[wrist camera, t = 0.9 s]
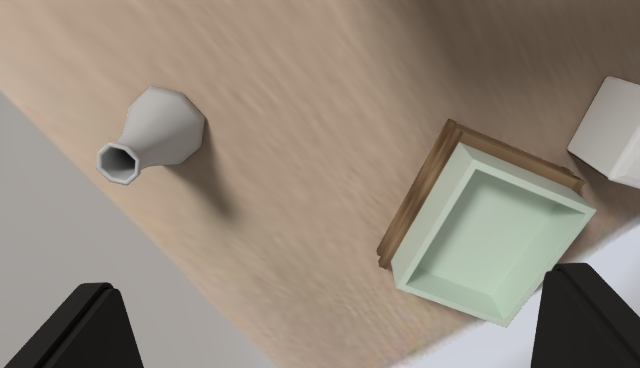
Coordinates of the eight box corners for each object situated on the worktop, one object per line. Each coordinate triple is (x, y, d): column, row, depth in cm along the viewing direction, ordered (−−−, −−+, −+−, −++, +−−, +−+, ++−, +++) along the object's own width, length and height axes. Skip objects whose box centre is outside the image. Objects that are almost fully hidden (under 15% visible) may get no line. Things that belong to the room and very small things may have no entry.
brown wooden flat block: (448, 118, 39) (457, 128, 36) (568, 169, 40) (585, 182, 38) (376, 249, 45) (379, 266, 42) (483, 289, 46) (492, 308, 44)
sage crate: (459, 142, 37) (473, 159, 33) (571, 188, 38) (596, 210, 34) (390, 261, 42) (396, 287, 38) (491, 298, 43) (506, 327, 39)
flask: (219, 113, 40) (184, 150, 30) (186, 174, 42) (144, 225, 33) (146, 70, 38) (86, 95, 29) (116, 136, 41) (53, 178, 32)
